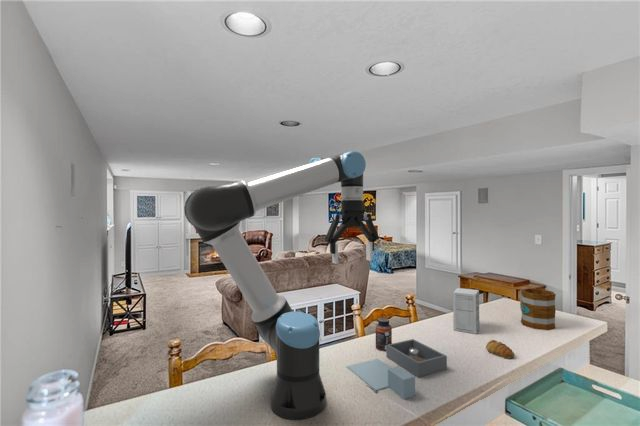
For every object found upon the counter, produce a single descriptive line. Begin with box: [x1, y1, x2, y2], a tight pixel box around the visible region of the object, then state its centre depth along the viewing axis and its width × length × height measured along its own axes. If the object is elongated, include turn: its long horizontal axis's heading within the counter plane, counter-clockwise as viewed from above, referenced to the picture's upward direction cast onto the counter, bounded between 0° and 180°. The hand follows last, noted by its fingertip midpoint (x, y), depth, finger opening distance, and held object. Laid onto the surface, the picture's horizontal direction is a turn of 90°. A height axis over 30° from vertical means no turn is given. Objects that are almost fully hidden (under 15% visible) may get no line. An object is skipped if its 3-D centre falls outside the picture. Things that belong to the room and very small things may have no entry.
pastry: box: [485, 339, 515, 360], centre depth 124 cm, size 9×7×4 cm
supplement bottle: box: [375, 317, 393, 352], centre depth 128 cm, size 6×6×11 cm
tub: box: [385, 338, 448, 379], centre depth 116 cm, size 12×16×5 cm
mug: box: [519, 287, 557, 331], centre depth 157 cm, size 20×14×15 cm
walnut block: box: [412, 356, 424, 362], centre depth 112 cm, size 4×4×3 cm
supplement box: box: [452, 287, 480, 335], centre depth 149 cm, size 10×9×17 cm
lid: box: [346, 358, 416, 400], centre depth 105 cm, size 13×24×6 cm, turn 26°
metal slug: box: [409, 347, 419, 358], centre depth 120 cm, size 4×4×3 cm
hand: (352, 261), depth 117 cm, fingers open, 13 cm apart
